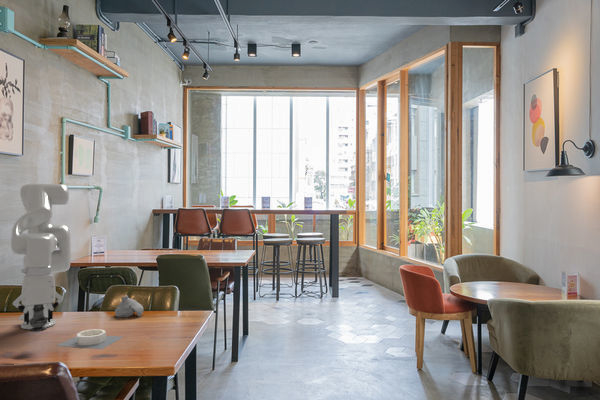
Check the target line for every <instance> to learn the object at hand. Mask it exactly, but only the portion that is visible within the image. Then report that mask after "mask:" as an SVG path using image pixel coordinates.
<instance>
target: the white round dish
mask: <svg viewBox="0 0 600 400" xmlns="http://www.w3.org/2000/svg"><path fill="white" fill-rule="evenodd" d="M106 333H107V332H106V331H105V329H100V328H99V329H97V328H93V329H92V328H91V329H86V330H82V331H79V332H78V333H76V336H77V343H78V345H94V344H100V343H101V342H103V341H105V340H106V336H107V334H106Z"/></svg>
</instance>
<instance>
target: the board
mask: <svg viewBox="0 0 600 400" xmlns="http://www.w3.org/2000/svg"><path fill="white" fill-rule="evenodd" d="M123 338H124V336H115V335H106V340H105V341H103V342H101V343H100V344H94V345H78V343H77V335H76V336H75V337H71V338H70V339H67V340H65V341H63V342H61V343H58V344H57V345H56V347H70V348H80V349H96V350H102V349H105V348H107V347H108V346H110V345H112V344H113V343H116V342H118V341H120V340H122V339H123Z"/></svg>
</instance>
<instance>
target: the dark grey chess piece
mask: <svg viewBox="0 0 600 400" xmlns="http://www.w3.org/2000/svg"><path fill="white" fill-rule="evenodd" d="M44 309H45V308H44V307H43V304H42V305H34V308H33V310H34V315H33V318H32V319H30V320H29V322H30V325H31V326H32V327H34V328H32V329H29V332H31V333H38V332H40V333H41V332H43V331H46V330H47V329H48V327H44V325H45V324H46V323H47V320H48V318H47V317H44Z"/></svg>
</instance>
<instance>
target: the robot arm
mask: <svg viewBox="0 0 600 400" xmlns="http://www.w3.org/2000/svg"><path fill="white" fill-rule="evenodd" d="M20 199H21V202H22V204H23V207H24V210H25V212H26V213H24V214H23V215H22V216H21V217H19V218H18V219H17V220H16V221H15V223H14V224H13V227H12V230H11V238H10V249H11V251H12V252H13V254H15V255H17V256H19V255H20V256H21V255H24V256H23V259H22V260H23V261H22V262H23V268H21V271H20V273H21V274H23V273H24V275H23V279H22V284H21V294H20V295H19V296H18V297H17V298H15V300H14V301H13V302H12V306H14V307H15V308H17V309H18V310H19V311H20V312H22V314H20V316H19V317H18V321H22V323H21V324H20V328H21V329H23V330H30V329H32V328H34V327H32V326H31V325H30V322H29V320H30V319H32V318H33V315H34V310H33V308H34V305H42V304H43V307H44V308H45V309H44V317H47V318H48V320H47V323H46V324H45V325H44V327H47V328H49V327H52V326H54V325H56V319H53V316H54V315H53V311H54V310H55V309H56V308H57V306H58V305H59V304H61V303H62V302H63V301H64V297H63V296H62V295H61V294H59V293H58V292H57V291H56V282H55V281H56V279H55V275H54V273H65V272H67V271H68V270H69V269H70V267H71V256H72V255H71V232H70V228H69V227H68V226H66V225H64V224H52V222H51V218H52V217H53V205H54V206H57V205H58V206H59V205H68V202H69V200H70V191H69V189H68V186H67V185H66V184H63V183H62V184H61V183H29V184H25V185H22V186H21V187H20ZM25 231H27V233H23V232H25ZM57 248H58V249H57ZM56 299H57V300H56ZM20 302H21V304H20Z"/></svg>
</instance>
